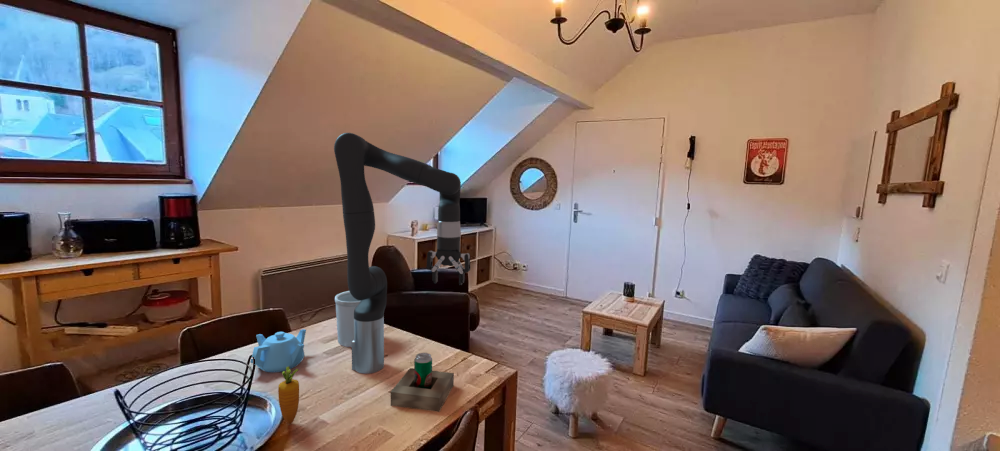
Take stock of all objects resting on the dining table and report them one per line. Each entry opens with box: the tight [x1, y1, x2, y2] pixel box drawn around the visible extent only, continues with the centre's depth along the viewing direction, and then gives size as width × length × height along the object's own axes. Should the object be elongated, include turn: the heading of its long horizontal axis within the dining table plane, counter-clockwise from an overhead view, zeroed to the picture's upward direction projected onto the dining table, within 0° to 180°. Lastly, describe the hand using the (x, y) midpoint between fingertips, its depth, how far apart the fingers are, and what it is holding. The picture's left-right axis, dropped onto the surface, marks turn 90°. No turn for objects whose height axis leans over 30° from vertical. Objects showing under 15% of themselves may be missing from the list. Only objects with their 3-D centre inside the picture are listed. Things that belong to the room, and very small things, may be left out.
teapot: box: [250, 328, 307, 373], centre depth 132 cm, size 15×15×11 cm
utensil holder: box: [334, 290, 361, 348], centre depth 152 cm, size 15×15×18 cm
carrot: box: [277, 366, 300, 425], centre depth 101 cm, size 5×5×15 cm
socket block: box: [390, 367, 455, 413], centre depth 117 cm, size 14×14×4 cm
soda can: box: [413, 352, 433, 389], centre depth 116 cm, size 5×5×12 cm
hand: (448, 283), depth 132 cm, fingers open, 8 cm apart
